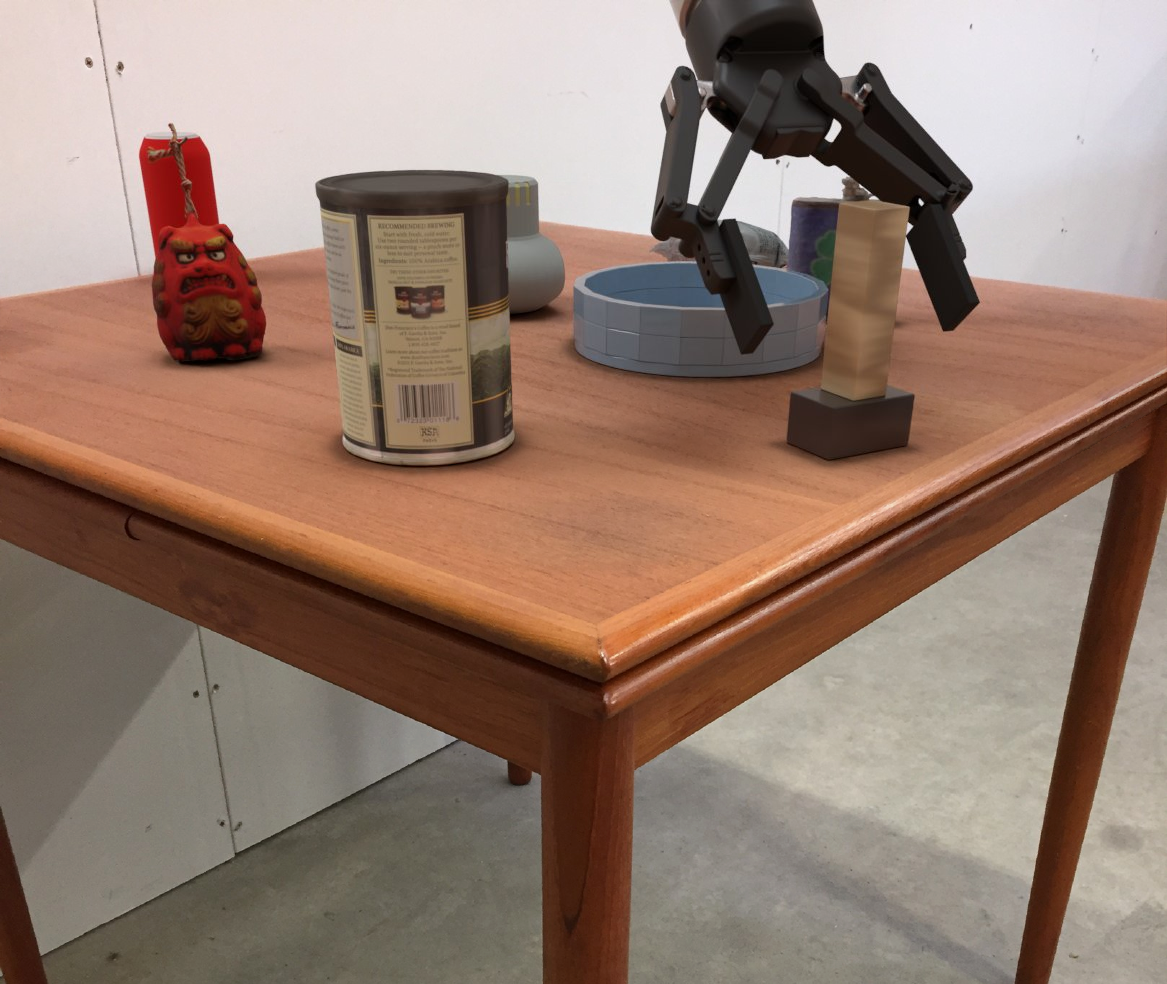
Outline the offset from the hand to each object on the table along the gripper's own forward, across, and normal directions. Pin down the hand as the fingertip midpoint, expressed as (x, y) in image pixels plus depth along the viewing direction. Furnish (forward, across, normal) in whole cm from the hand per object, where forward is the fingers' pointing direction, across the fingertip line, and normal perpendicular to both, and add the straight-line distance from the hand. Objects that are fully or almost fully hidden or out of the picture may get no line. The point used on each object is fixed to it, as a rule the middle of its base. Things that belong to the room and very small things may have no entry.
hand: (863, 328), depth 70 cm
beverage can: (-44, +26, -54) cm, 75 cm away
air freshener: (-27, +4, -36) cm, 45 cm away
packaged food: (-30, -19, -40) cm, 54 cm away
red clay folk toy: (-22, +30, -32) cm, 49 cm away
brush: (+4, 0, -6) cm, 7 cm away
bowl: (-14, -4, -23) cm, 27 cm away
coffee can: (-3, +22, -13) cm, 26 cm away
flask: (-17, -20, -26) cm, 37 cm away
